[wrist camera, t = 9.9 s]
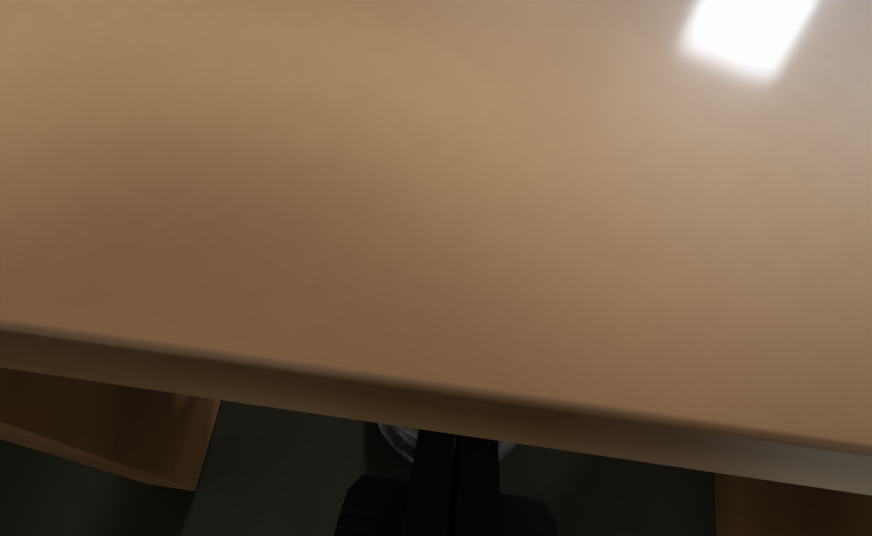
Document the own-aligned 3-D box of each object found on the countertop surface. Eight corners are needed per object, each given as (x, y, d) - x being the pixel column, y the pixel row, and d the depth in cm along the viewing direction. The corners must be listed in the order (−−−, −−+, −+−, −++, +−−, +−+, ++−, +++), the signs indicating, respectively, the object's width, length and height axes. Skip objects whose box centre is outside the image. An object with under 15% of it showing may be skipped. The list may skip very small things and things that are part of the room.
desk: (804, 584, 20) (2181, 642, 4) (115, 479, 21) (-805, 211, 5) (780, 279, 24) (1436, -254, 8) (205, 203, 25) (-158, -403, 9)
